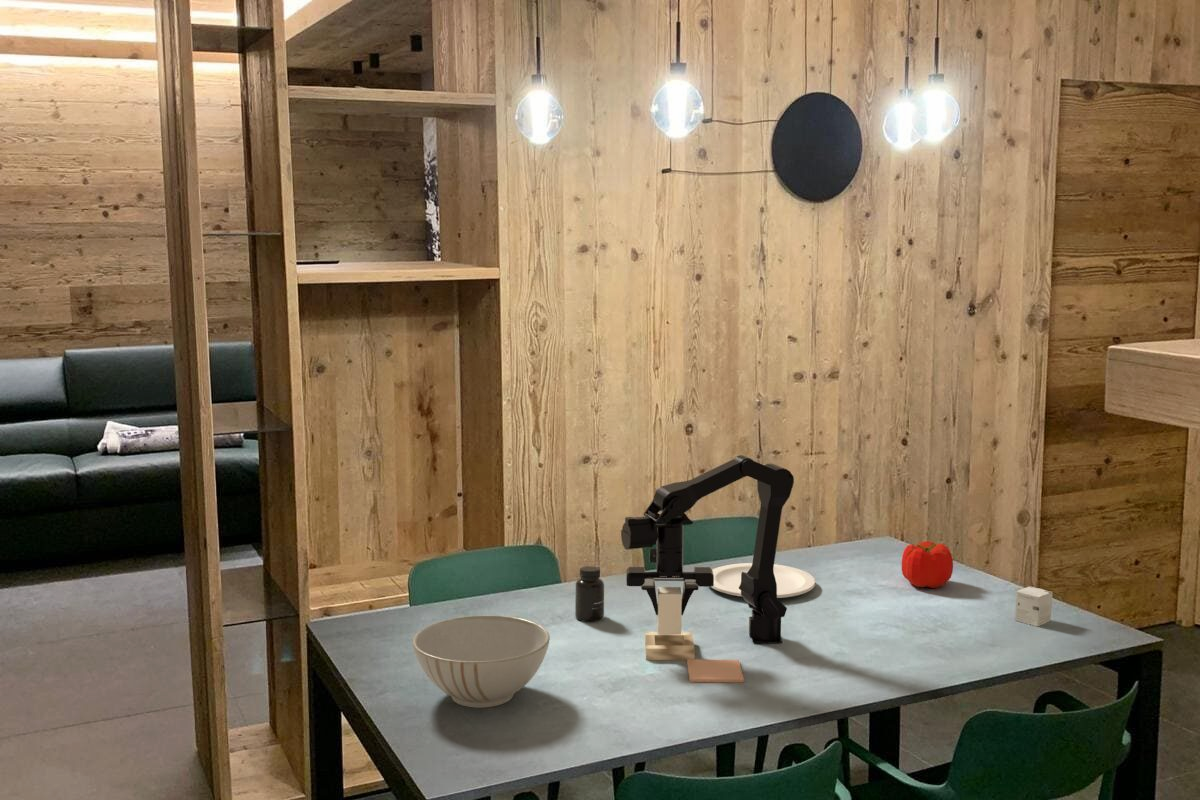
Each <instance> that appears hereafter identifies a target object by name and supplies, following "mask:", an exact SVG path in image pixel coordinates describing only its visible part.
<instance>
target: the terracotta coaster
mask: <svg viewBox="0 0 1200 800" xmlns="http://www.w3.org/2000/svg"><path fill="white" fill-rule="evenodd" d="M686 664H687V672H688V679H689V682H690V683H744V682H745V678H744V674H743V671H742V670H743V669H742V667H741V663H740V659H695V660H686Z"/></svg>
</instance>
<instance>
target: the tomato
mask: <svg viewBox="0 0 1200 800" xmlns="http://www.w3.org/2000/svg"><path fill="white" fill-rule="evenodd" d="M953 571H954V559H953V555H952V553H951V550H950V549H949V547H948V546H947V545H945V544H943V543H935V542H933V541H929V540H926V541H921V542H919V543H916V544H907V545H906V547H905V548H904V550H903V553H902V555H901V572H902V573H901V574H902V575H903V578H905V579H906V580H907V581H908V582H909V583H910V584H911V585H913V586H915V587H917V588H925V587H928V588H930V589H937V588H939V587H941V586H944V585H946V583H947V582H948V581H949V580H950V579H951V578H952V575H953Z"/></svg>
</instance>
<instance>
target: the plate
mask: <svg viewBox="0 0 1200 800" xmlns="http://www.w3.org/2000/svg"><path fill="white" fill-rule="evenodd" d="M752 563H753V562H746V563H745V562H743V563H733V564H732V563H731V564H726V565H722V566H718V567H715V568H712V571H713V575H714V586H712V587H710V589H711V588H712V589H713V590H715V591H718V592H720V593H724V594H727V595H731V596H737V597H742V596H741V590H740V589H739V586H740V584H741V574H742V572H746V573H747V572H748V571H749V570H750V568H751V566H752ZM773 571H774V576H775V580H776V584H777V599H780V598H781V599H782V598H791V597H796V596H800V595H803V594H806V593H808V592H810V591H811V590H813V589H814V588H815V586H816V579H815V577H814V576H813V575H812V574H810V573H809V572H807V571H805V570H801V569H799V568H797V567H792V566H788V565H781V564H776V563H774V568H773ZM742 598H743V597H742Z"/></svg>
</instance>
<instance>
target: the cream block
mask: <svg viewBox="0 0 1200 800" xmlns="http://www.w3.org/2000/svg"><path fill="white" fill-rule="evenodd" d="M681 589H682V588H681V586H680V587H679V586H678V587H677V586H674V587H673V586H658V587H657V604H658V615H656V617H657V618H656V621H657V625H656V626H657V632H658V634H677V635H681V632H682V615H681V611H682V593H683V592H682V590H681Z"/></svg>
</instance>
